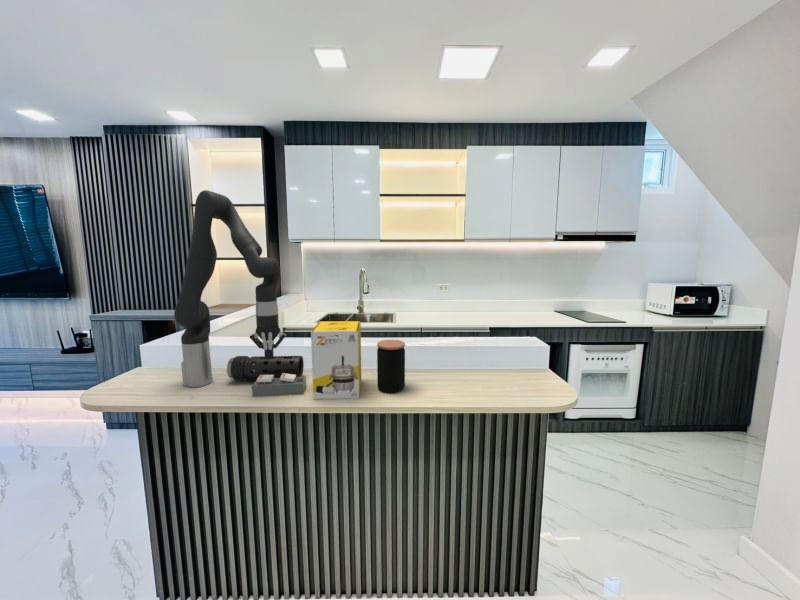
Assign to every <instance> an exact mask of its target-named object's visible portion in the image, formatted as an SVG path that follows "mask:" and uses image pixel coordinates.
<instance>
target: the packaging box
mask: <svg viewBox="0 0 800 600" xmlns="http://www.w3.org/2000/svg"><path fill="white" fill-rule="evenodd" d="M361 330H362V329H361V321H360V320H359V321H358V320H357V321H356V320H354V321H353V320H351V321H350V320H349V321H348V320H347V321H342V320H341V321H319V322H318V323H317V324H316V325H315V326H314V327H313V329H312V330H311V331H310V342H311V343H310V344H311V348H310V349H311V369H312V370H311V371H312V393H313V394H312V395H313V396H312V397H313V398H312V399H313V401H314V400H315V401H316V400H317V399H319V400H348V399H349V400H351V399H353V400H356V398H357V399H360V394H361V388H360V387H362V343H361V342H362V340H361V339H362V337H361V336H362V335H361V334H362V331H361Z"/></svg>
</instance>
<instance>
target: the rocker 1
mask: <svg viewBox="0 0 800 600" xmlns="http://www.w3.org/2000/svg"><path fill="white" fill-rule="evenodd" d="M273 379H274V375H260V376H259V377H258V378H257V382H272V380H273Z"/></svg>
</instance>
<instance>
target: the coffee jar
mask: <svg viewBox="0 0 800 600" xmlns="http://www.w3.org/2000/svg"><path fill="white" fill-rule="evenodd" d="M376 345H377V350H376V359H377V360H376V361H377V362H376V363H377V364H376V366H377V367H376V370H377V372H376V373H377V374H376V375H377V377H376V378H377V385H376V386H377V388H378V389H379V391H380V390H381V391H380V392H382V393H385V392H386V393H385V394H396V393H395V392H397V393H400V392H401V390H402V389H403V390H404V388H405V385H406V350H405V349H406V348H405V347H406V343H405V342H404V341H402V340H398V339H384V340H381V341H378V342H377V343H376ZM403 390H402V391H403ZM399 391H400V392H399Z"/></svg>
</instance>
